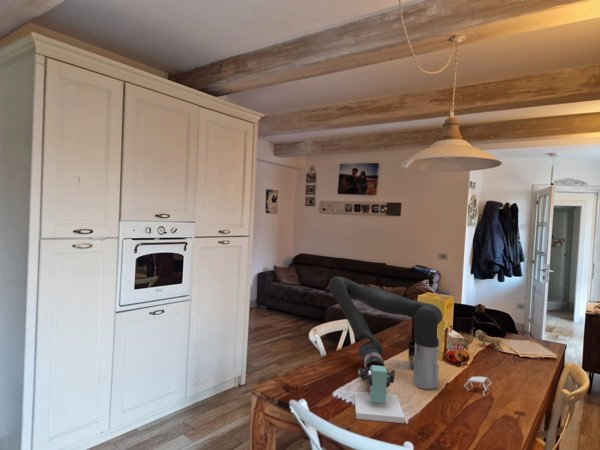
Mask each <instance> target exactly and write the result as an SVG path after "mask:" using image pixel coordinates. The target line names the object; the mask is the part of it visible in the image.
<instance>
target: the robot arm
mask: <svg viewBox="0 0 600 450" xmlns="http://www.w3.org/2000/svg"><path fill="white" fill-rule="evenodd" d="M328 289H329V292H330V293H331V295H332V296H333V298H334V299H335V301H336V302H337V304H338V306H339V307H340V309H341V310H342V312H343V313H344V314H343V315H344V316H345V318H346V319H347V322H348V323H349V326H350V328H351V330H352V332H353V335H354V337H355V338H356V339H357V340H364V339H369V341H368V342H365V343H363V344H361V345H360V346H359V347H358V354H359V357H360V358H361V359H362V361H364V363H363V364H364V368H365V369H364V368H362V367H358V371H357V375H358V376H359V378H360V379H361V380H362V381H367V384H368V385H369V386H372V382H373V381H372V376H371V366H372V365H375V366H385V362H384V359H383V358H382V354H383V352H384V348H383V346H382V345H383V344H381V342H380V341H379V340H378V339H377V338H376V337H375V335H374V334H373V333H372V331H371V329H370V328H369V326H368V323H367V321H366V319H365V318H364V316H363V314H362V313H361V312H360V311H359V309H358V307H357V306H356V305H355V304H354V302H353V300H356V301H358V302H361V303H363V304H364V305H366V306H368V307H370V308H372V309H374V310H377V311H379V312H381V313H382V312H383V313H385V314H391V315H400V316H405V317H410V318H413V319H414V322H413V323H414V325H413V326H414V327H413V328H414V329H413V333H414V334H413V335H414V341H415V342H414V355H413V356H414V357H413V358H414V359H413V371H412V373H413V375H412V385H413V386H415V385H416V386H417V387H416V386H415V387H416V388H418V387H420V388H419V389H421V388H424V389H423V390H426V389H432V390H435V389H434V388H438V389H439V371H440V370H439V369H440V366H439V364H438V361H439V360H438V359H439V350H438V346H439V339H438V338H437V330H438V325H439V324H440V323H441V322H442V321H443V312H442V311H441V309H440V308H439V307H438V306H436V305H435V304H432V303H431V304H430V303H426V302H421V301H418V300H412V299H409V298H407V297H404V296H402V295H399V294H396V293H393V292H390V291H387V290H384V289H381V288H377V287H373V286H372V287H371V286H365V285H362V284H360V283H358V282H355V281H352V280H350V279H348V278H346V277H343V276H334V277H332V278H331V279H330V281H329V282H328ZM385 367H386V366H385ZM395 375H396V371H395V370H393V369H392V370H391V371H388V370H387V384H386V388H389V387H390V386H391V384H394V382H395V378H396V377H395Z"/></svg>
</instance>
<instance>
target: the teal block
mask: <svg viewBox="0 0 600 450" xmlns="http://www.w3.org/2000/svg"><path fill="white" fill-rule="evenodd" d="M387 371H388V369H387V368H386V366H375V365H372V366H371V376H372V381H373V382H372V386H370V385H369V386H370V387H369V393H370V398H371V402H381V403H385V402H386V394H387V387H386V384H387Z"/></svg>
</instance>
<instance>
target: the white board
mask: <svg viewBox="0 0 600 450" xmlns="http://www.w3.org/2000/svg"><path fill="white" fill-rule="evenodd" d="M353 400H354V401H353V402H354V411H355V419H357V420H363V421H375V422H376V421H377V422H388V423H399V424H405V420H406V419H405V415H404V412H403V409H402V405H401V404H400V401H399V398H398V395H397V394H387V393H386V402H385V403H381V402H371V398H370V392H364V391H353Z"/></svg>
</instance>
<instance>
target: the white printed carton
mask: <svg viewBox="0 0 600 450" xmlns="http://www.w3.org/2000/svg"><path fill="white" fill-rule="evenodd" d="M451 330H452V331H451V333H449V334H448V350H450V351H458V350H461V351H463V352H464V348H465V336H462V334H460V333H458V332H457V331H455V330H454V329H451Z"/></svg>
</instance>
